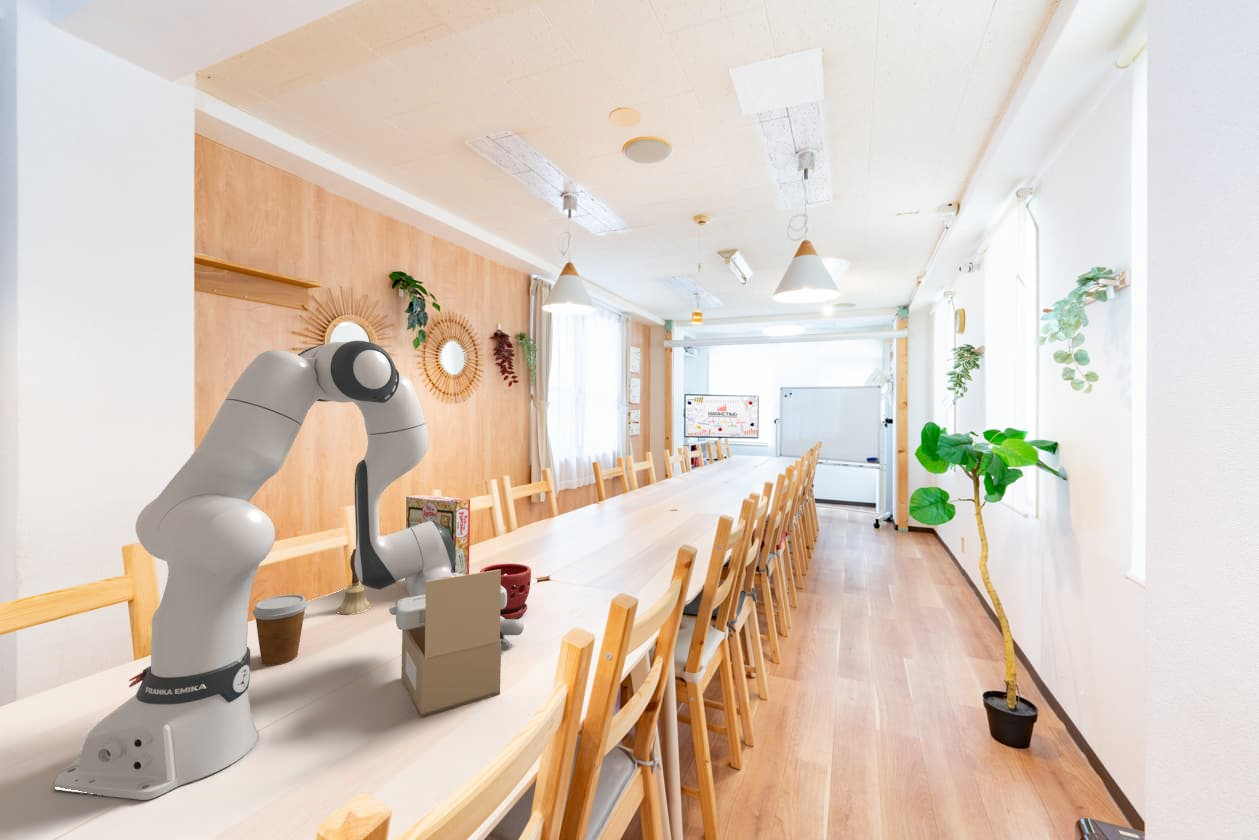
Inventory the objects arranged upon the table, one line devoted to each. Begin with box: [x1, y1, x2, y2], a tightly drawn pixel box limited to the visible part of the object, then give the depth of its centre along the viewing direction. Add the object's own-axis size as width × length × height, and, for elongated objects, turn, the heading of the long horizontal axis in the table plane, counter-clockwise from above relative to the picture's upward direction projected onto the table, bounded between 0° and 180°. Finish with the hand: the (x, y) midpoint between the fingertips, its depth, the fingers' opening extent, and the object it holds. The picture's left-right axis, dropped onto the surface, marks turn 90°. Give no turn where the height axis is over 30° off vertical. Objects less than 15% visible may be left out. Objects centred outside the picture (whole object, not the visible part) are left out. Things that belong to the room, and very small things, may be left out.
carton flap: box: [425, 570, 501, 658], centre depth 90 cm, size 13×13×1 cm
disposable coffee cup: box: [252, 594, 309, 666], centre depth 106 cm, size 10×10×12 cm
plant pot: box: [479, 563, 532, 619], centre depth 133 cm, size 13×13×12 cm
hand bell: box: [336, 548, 372, 615], centre depth 135 cm, size 8×8×16 cm
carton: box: [400, 626, 502, 719], centre depth 97 cm, size 16×14×10 cm
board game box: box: [404, 494, 471, 582], centre depth 154 cm, size 20×6×27 cm, turn 66°
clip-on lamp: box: [500, 616, 525, 645], centre depth 116 cm, size 12×6×18 cm
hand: (465, 618), depth 91 cm, fingers closed, pressing on carton flap
